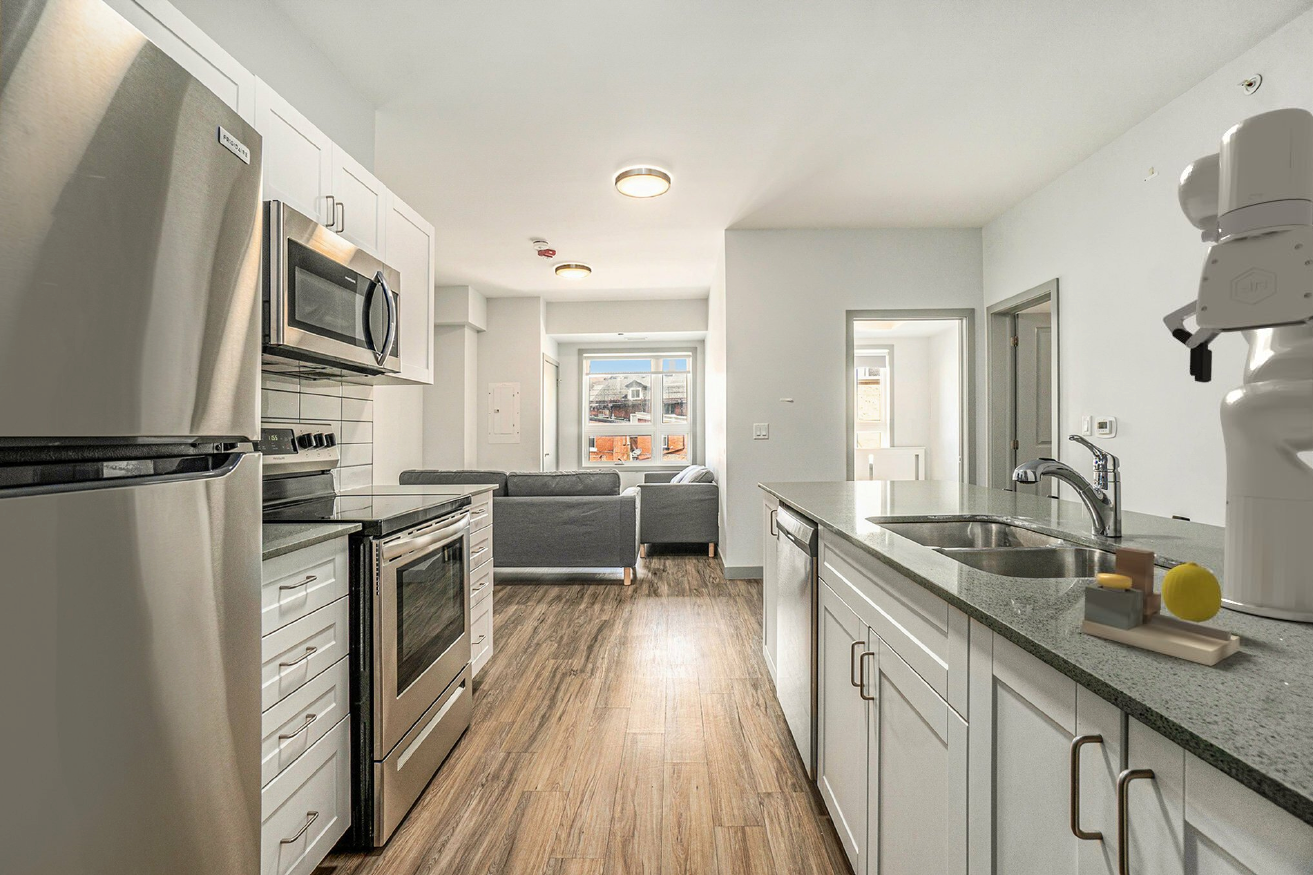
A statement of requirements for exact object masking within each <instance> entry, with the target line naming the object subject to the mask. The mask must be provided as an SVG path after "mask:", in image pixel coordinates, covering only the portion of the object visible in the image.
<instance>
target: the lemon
mask: <svg viewBox="0 0 1313 875" xmlns="http://www.w3.org/2000/svg"><path fill="white" fill-rule="evenodd" d="M1221 589H1222V588H1221V586H1220V583H1219V581H1218V579H1217V578H1216V576H1215V575H1214V574H1213V573H1212V572H1210V571H1209V570H1208V569H1206V568H1204V567H1203V566H1200V565H1198V564H1197V562H1194V561H1187V562H1186V563H1184V564H1178V565H1177V566H1175V567H1172V568H1171V569H1170V570H1169V571H1167V573H1166V574H1165V576H1164V578H1163V580H1162V585H1161V599H1162V601H1163V604H1164V605H1165V608H1167V610H1168V611H1169V613H1171V614H1172V615H1174V616H1175V617H1176V618H1179V619H1183V620H1188V621H1192V622H1197V623H1202V622H1207V621H1209V620H1211V619H1213V618H1214V617H1216V615H1217V614H1218V613H1219V611H1220V609H1221V607H1222V606H1221V601H1222V595H1221Z"/></svg>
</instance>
